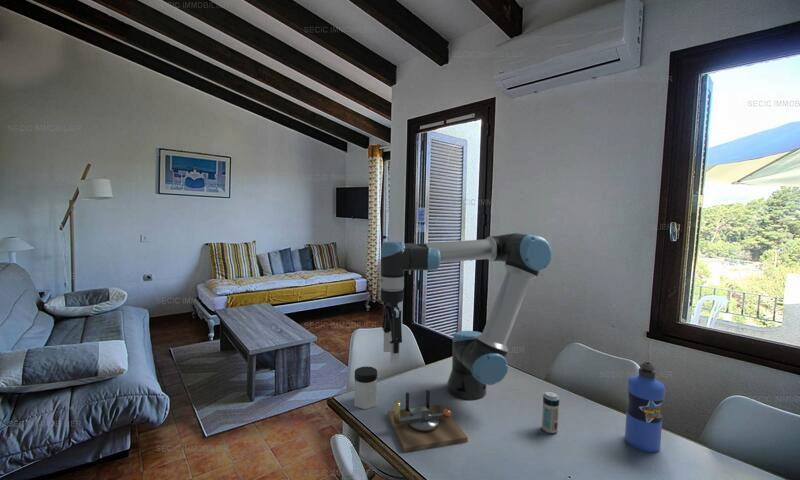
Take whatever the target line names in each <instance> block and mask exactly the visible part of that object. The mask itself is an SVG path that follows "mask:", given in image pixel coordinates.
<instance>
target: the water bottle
mask: <svg viewBox="0 0 800 480" xmlns="http://www.w3.org/2000/svg"><path fill="white" fill-rule="evenodd" d="M655 370H656V368H655V367H654V365H653V364H652V363H650V362H647V361H645V362H643V363H641V364H639V368H638V371H637V372H638V375H633V376H632V375H631V376H629V377H628V378H627V391H628V392H627V393H628V404H627V409H626V413H625V414H626V415H625V426H624V427H625V428H624V429H625V431H624V432H625V433H624V441H625V442H626V443H627V444H628V446H629V445H630V447H632V448H634V449H635V450H638V451H640V452H644V453H651V454H652V453H653V454H654V453H659V452H660V450H661V443H662V441H661V440H662V429H663V417H662V409H663V408H662V407H663V403H664V400H665V395H666V385H664V384H663V383H662V382H660V381H659V380H657V379H655V378H656V371H655Z"/></svg>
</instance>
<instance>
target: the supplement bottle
mask: <svg viewBox="0 0 800 480" xmlns="http://www.w3.org/2000/svg"><path fill="white" fill-rule="evenodd" d="M542 399H543V400H542V414H541V415H542V418H541V429H542V430H543V431H545V432H546V433H548V434H556V433H558V431H559V418H560V417H559V415H560V400H561V399H560V396H559V393H557V392H555V391H552V390H547V391H545V392H544V394H543V397H542Z"/></svg>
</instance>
